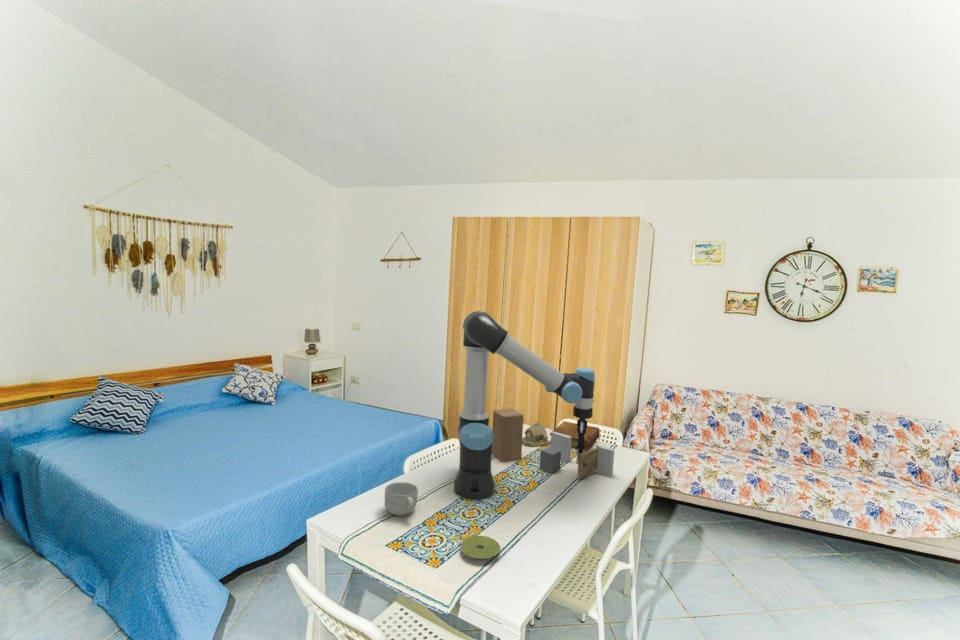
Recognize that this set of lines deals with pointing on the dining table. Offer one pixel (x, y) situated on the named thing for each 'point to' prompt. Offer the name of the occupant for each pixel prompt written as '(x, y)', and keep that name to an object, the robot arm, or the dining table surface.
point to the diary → (571, 430)
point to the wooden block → (507, 434)
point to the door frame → (564, 445)
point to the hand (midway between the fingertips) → (579, 463)
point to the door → (587, 462)
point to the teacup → (400, 498)
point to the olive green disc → (480, 547)
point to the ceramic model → (535, 436)
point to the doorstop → (550, 460)
